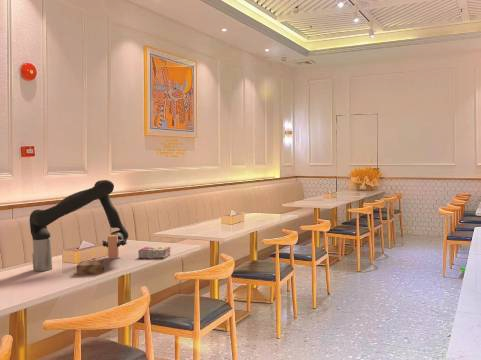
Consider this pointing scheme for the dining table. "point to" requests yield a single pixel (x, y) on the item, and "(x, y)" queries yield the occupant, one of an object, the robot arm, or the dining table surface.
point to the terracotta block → (112, 246)
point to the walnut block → (90, 267)
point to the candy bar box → (154, 252)
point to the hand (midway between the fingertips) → (112, 245)
